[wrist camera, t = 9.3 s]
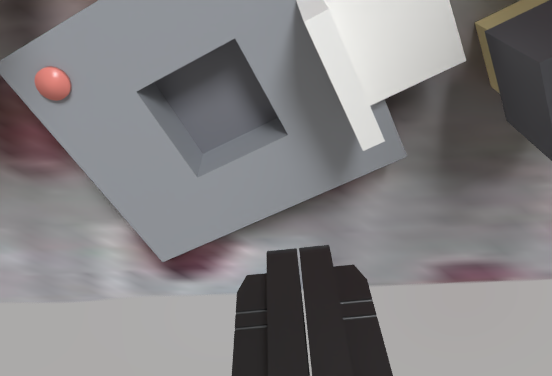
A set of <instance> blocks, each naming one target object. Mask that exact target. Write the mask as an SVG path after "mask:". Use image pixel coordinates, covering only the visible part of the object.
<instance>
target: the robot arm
mask: <svg viewBox="0 0 552 376" xmlns="http://www.w3.org/2000/svg"><path fill="white" fill-rule="evenodd" d="M299 251H300V261H301V271H302V280H303V290H304V299H305V309H306V319H307V329H308V338H309V348H310V357H311V367H312V376H393V375H392V371H391V367H390V364H389V360H388V356H387V352H386V348H385V345H384V341H383V337H382V334H381V330H380V326H379V322H378V319H377V317H376V312H375V308H374V304H373V302H372V297H371V293H370V290H369V285H368V282H367V279H366V278H365V277H364V276H363V275H362V274H361V272H360V271H359V270H358V269H357V268H356V267H355V266H354V265H345V266H335V267H333V263H332V257H331V252H330V247H329V245H324V246H314V247H304V248H299ZM236 303H237V304H236V319H235V334H234V350H233V365H232V376H310V373H309V363H308V353H307V344H306V333H305V322H304V313H303V302H302V293H301V284H300V275H299V266H298V257H297V249H286V250H276V251H267V273H265V274H255V275H247V276H246V278H245V280H244V281H243V283H242V285H241V287H240V288H239V290H238V292H237V302H236Z"/></svg>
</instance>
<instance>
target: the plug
mask: <svg viewBox="0 0 552 376" xmlns="http://www.w3.org/2000/svg"><path fill="white" fill-rule="evenodd" d="M475 26H476V30H477V34H478V38H479V42H480V45H481V49H482V53H483V57H484V61H485V65H486V69H487V72H488V76H489V80H490V84H491V87H492V88H493V89H495V90H496V91H497V92H498V93H500V95H501V99H502V103H503V107H504V111H505V115H506V119H507V122H509V123H510V124H511V125H512V126H513V127H514V128H515V129H516V130H518V131H519V132H520V133H521V134H522V135H523V136H524V137H526V138H527V139H528V140H529V141H530V142H531V143H532V144H533V145H535V146H536V147H537V148H538V149H539V150H540V151H541V152H542V153H544V154H545V155H546V156H547V157H548V158H549V159H550V160H551V161H552V0H520V1H518V2H516V3H514V4H512V5H510V6H508V7H506V8H504V9H502V10H500V11H498V12H496V13H494V14H492V15H489V16H487V17H485V18H483V19H481V20H479V21H477V22H475Z"/></svg>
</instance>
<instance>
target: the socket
mask: <svg viewBox="0 0 552 376" xmlns="http://www.w3.org/2000/svg"><path fill="white" fill-rule="evenodd" d="M0 75H1V76H2V77H3V78H4V80H5V81H6V82H7V83H8V84H9V85H10V86H11V88H12V89H13V90H14V91H15V92H16V93H17V95H18V96H19V97H20V98H21V99H22V100H23V102H24V103H25V104H26V105H27V106H28V107H29V108H30V110H31V111H32V112H33V113H34V114H35V115H36V117H37V118H38V119H39V120H40V121H41V122H42V123H43V125H44V126H45V127H46V128H47V129H48V130H49V132H50V133H51V134H52V135H53V136H54V137H55V138H56V140H57V141H58V142H59V143H60V144H61V145H62V147H63V148H64V149H65V150H66V151H67V152H68V153H69V155H70V156H71V157H72V158H73V159H74V160H75V162H76V163H77V164H78V165H79V166H80V167H81V168H82V170H83V171H84V172H85V173H86V174H87V175H88V177H89V178H90V179H91V180H92V181H93V182H94V183H95V185H96V186H97V187H98V188H99V189H100V190H101V192H102V193H103V194H104V195H105V196H106V197H107V199H108V200H109V201H110V202H111V203H112V204H113V205H114V207H115V208H116V209H117V210H118V211H119V212H120V214H121V215H122V216H123V217H124V218H125V219H126V220H127V222H128V223H129V224H130V225H131V226H132V227H133V229H134V230H135V231H136V232H137V233H138V234H139V235H140V237H141V238H142V239H143V240H144V241H145V242H146V244H147V245H148V246H149V247H150V248H151V249H152V250H153V252H154V253H155V254H156V255H157V256H158V257H159V259H160V260H161V261H162V262H164V261H167V260H169V259H171V258H174V257H176V256H178V255H181V254H183V253H185V252H188V251H190V250H192V249H195V248H197V247H199V246H201V245H204V244H206V243H208V242H211V241H213V240H215V239H218V238H220V237H222V236H225V235H227V234H229V233H231V232H234V231H236V230H238V229H241V228H243V227H245V226H248V225H250V224H252V223H255V222H257V221H259V220H262V219H264V218H266V217H268V216H271V215H273V214H275V213H278V212H280V211H282V210H285V209H287V208H289V207H292V206H294V205H296V204H298V203H301V202H303V201H305V200H308V199H310V198H312V197H315V196H317V195H319V194H322V193H324V192H326V191H329V190H331V189H333V188H335V187H338V186H340V185H342V184H345V183H347V182H349V181H352V180H354V179H356V178H359V177H361V176H363V175H365V174H368V173H370V172H372V171H375V170H377V169H379V168H382V167H384V166H386V165H389V164H391V163H393V162H396V161H398V160H400V159H402V158H405V157H407V154H406V152H405V149H404V147H403V144H402V142H401V139H400V137H399V134H398V132H397V129H396V127H395V124H394V122H393V119H392V117H391V114H390V112H389V109H388V107H387V104H386V102H385V99H384V100H381V101H379V102H377V103H375V104H373V105H371V106H370V107H371V109H372V112H373V114H374V116H375V119H376V121H377V123H378V126H379V128H380V131H381V133H382V135H383V138H384V140H385V142H382V143H380V144H378V145H376V146H373V147H371V148H369V149H367V150H365V151H363V150H362V148H361V145H360V143H359V141H358V139H357V137H356V135H355V132H354V130H353V128H352V126H351V124H350V121H349V119H348V117H347V115H346V113H345V111H344V108H343V106H342V104H341V102H340V100H339V97H338V95H337V93H336V91H335V89H334V87H333V84H332V82H331V80H330V78H329V76H328V73H327V71H326V69H325V67H324V65H323V63H322V60H321V58H320V56H319V54H318V52H317V49H316V47H315V45H314V43H313V41H312V39H311V36H310V34H309V32H308V30H307V28H306V25H305V23H304V21H303V18H302V15H301V13H300V10H299V7H298V4H297V2H296V0H98V1H97V2H95V3H93V4H92V5H90V6H88V7H87V8H85V9H84V10H82V11H80V12H79V13H77V14H75V15H74V16H72V17H70V18H69V19H67V20H66V21H64V22H62V23H61V24H59V25H57V26H56V27H54V28H52V29H51V30H49V31H47V32H46V33H44V34H43V35H41V36H39V37H38V38H36V39H34V40H33V41H31V42H29V43H28V44H26V45H25V46H23V47H21V48H20V49H18V50H16V51H15V52H13V53H11V54H10V55H8V56H6V57H5V58H3V59H2V60H0Z"/></svg>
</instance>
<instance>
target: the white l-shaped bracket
mask: <svg viewBox="0 0 552 376" xmlns="http://www.w3.org/2000/svg"><path fill="white" fill-rule="evenodd" d="M296 2H297V4H298V7H299V10H300V13H301V15H302V18H303V21H304V23H305V25H306V28H307V30H308V32H309V34H310V36H311V39H312V41H313V43H314V45H315V47H316V49H317V52H318V54H319V56H320V58H321V60H322V63H323V65H324V67H325V69H326V71H327V73H328V76H329V78H330V80H331V82H332V84H333V87H334V89H335V91H336V93H337V95H338V97H339V100H340V102H341V104H342V106H343V108H344V111H345V113H346V115H347V117H348V119H349V121H350V124H351V126H352V128H353V130H354V132H355V135H356V137H357V139H358V141H359V143H360V145H361V148H362V150H363V151H365V150H367V149H369V148H371V147H373V146H376V145H378V144H380V143H382V142H385V140H384V138H383V135H382V133H381V131H380V128H379V126H378V123H377V121H376V119H375V116H374V114H373V112H372V109H371V107H370V106H371V105H373V104H375V103H377V102H379V101H381V100H384V99H386V98H388V97H390V96H392V95H394V94H396V93H398V92H401V91H403V90H405V89H407V88H409V87H411V86H413V85H416V84H418V83H420V82H422V81H424V80H426V79H428V78H431V77H433V76H435V75H437V74H439V73H441V72H443V71H446V70H448V69H450V68H452V67H454V66H456V65H458V64H460V63H463V62H465V61H466V58H465V54H464V51H463V47H462V43H461V40H460V36H459V33H458V29H457V26H456V22H455V19H454V15H453V12H452V8H451V4H450V1H449V0H296Z"/></svg>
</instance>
